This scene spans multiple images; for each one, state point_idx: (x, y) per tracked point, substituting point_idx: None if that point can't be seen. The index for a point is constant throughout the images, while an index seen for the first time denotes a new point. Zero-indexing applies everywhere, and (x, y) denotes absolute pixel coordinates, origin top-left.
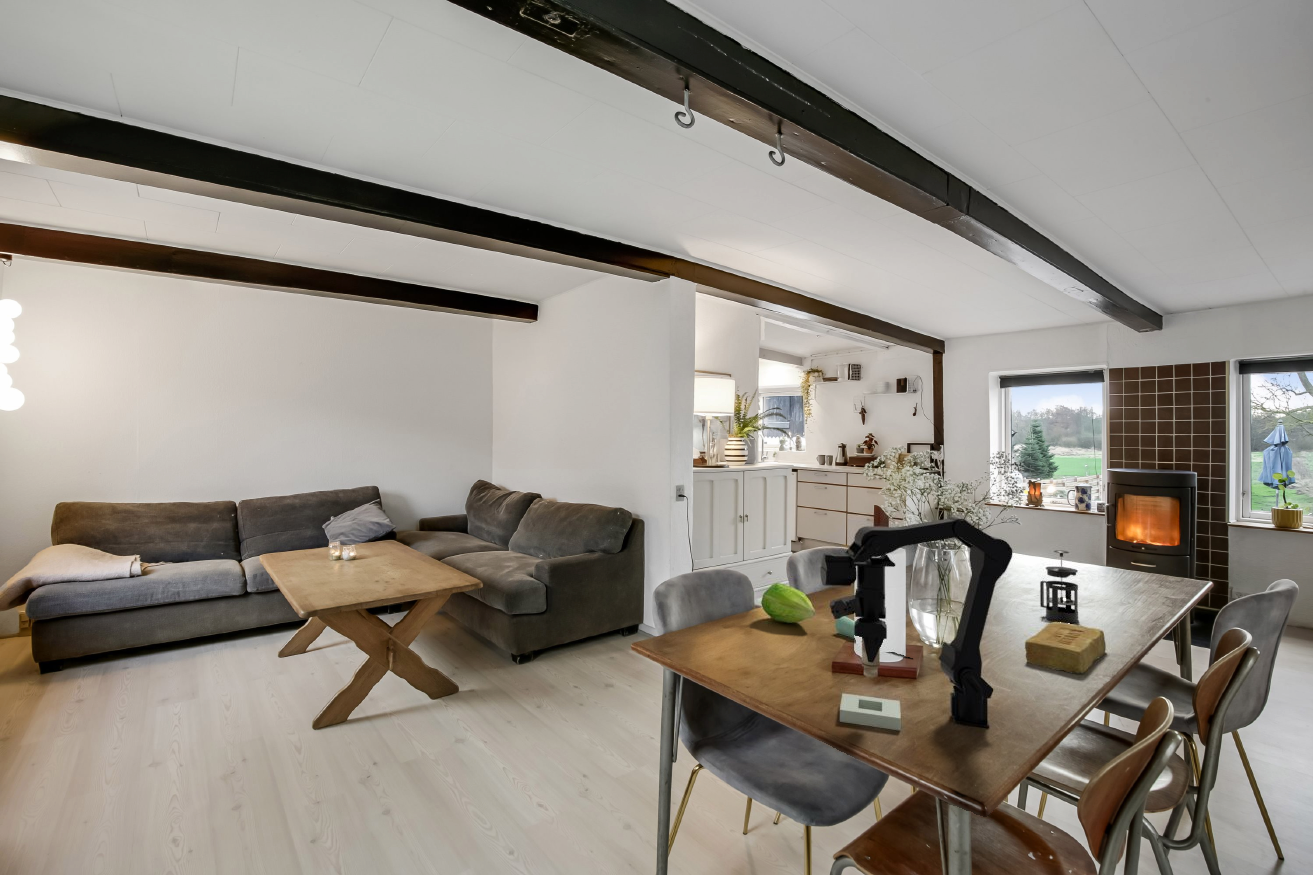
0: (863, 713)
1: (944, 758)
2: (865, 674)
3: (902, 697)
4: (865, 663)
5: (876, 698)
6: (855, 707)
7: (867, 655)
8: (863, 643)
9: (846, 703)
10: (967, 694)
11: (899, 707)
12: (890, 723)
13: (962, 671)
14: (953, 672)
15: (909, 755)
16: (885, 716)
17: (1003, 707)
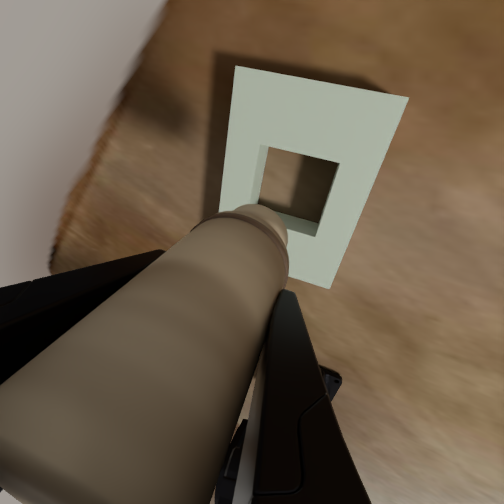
0: (225, 155)
1: None
2: (236, 209)
3: (442, 314)
4: (192, 230)
5: (348, 228)
6: (263, 135)
7: (115, 263)
8: (107, 304)
9: (295, 103)
10: (240, 425)
11: None
12: None
13: (216, 486)
14: (226, 469)
15: (125, 219)
16: None
17: (362, 451)
